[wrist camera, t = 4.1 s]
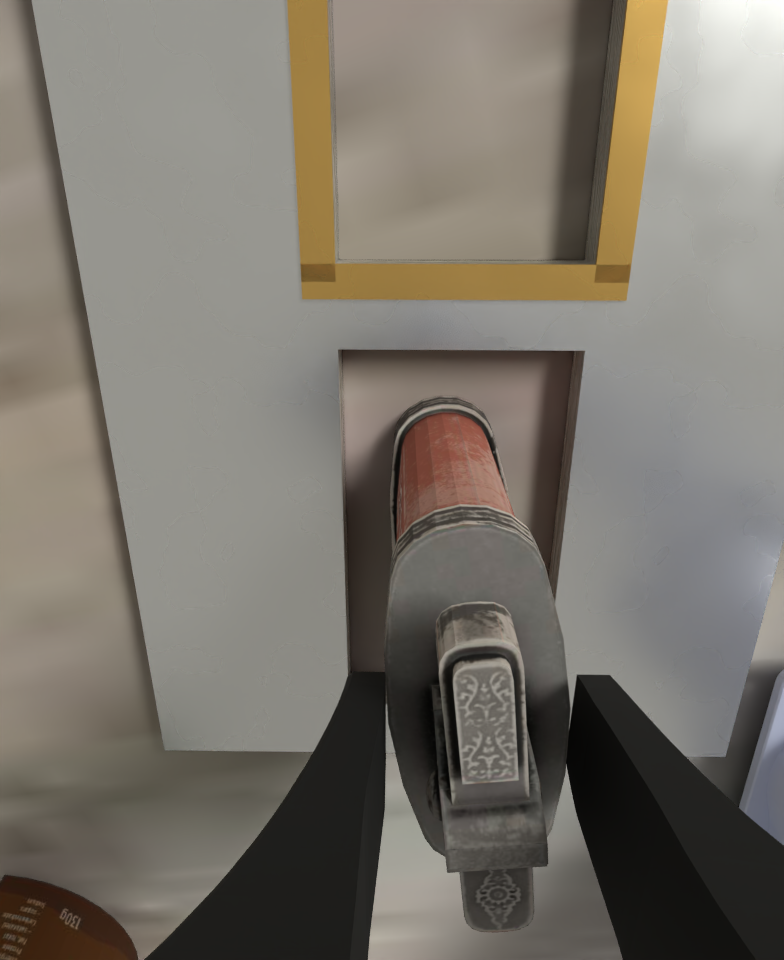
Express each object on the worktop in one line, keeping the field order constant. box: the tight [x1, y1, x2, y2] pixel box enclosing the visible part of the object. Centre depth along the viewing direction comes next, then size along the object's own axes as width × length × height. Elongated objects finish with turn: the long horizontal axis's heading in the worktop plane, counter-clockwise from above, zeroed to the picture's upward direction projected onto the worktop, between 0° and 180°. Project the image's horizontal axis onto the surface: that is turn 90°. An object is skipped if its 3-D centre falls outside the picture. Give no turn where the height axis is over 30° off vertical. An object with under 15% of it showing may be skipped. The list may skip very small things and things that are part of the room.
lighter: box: [384, 396, 571, 932], centre depth 15 cm, size 8×3×10 cm, turn 6°
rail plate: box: [32, 0, 784, 757], centre depth 16 cm, size 28×18×1 cm, turn 0°
